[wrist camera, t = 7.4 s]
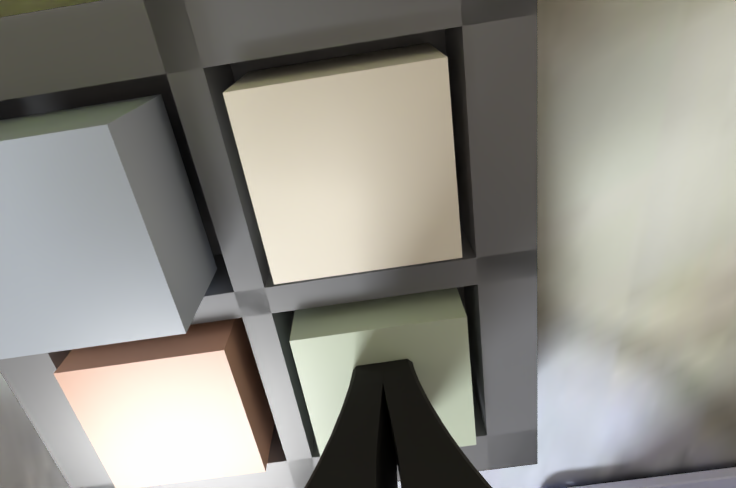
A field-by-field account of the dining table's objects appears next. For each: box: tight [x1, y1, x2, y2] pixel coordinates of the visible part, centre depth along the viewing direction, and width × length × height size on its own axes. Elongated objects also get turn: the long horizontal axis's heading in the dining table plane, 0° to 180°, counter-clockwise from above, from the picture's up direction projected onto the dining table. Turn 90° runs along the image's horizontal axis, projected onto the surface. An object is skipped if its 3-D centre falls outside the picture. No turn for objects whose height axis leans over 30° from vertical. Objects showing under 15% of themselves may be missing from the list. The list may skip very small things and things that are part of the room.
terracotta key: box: [54, 318, 275, 488], centre depth 14 cm, size 4×4×2 cm
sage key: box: [289, 287, 476, 457], centre depth 13 cm, size 4×4×2 cm
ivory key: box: [223, 43, 462, 284], centre depth 11 cm, size 4×4×2 cm
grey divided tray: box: [0, 0, 537, 488], centre depth 13 cm, size 13×13×2 cm
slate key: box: [0, 94, 217, 359], centre depth 10 cm, size 4×4×2 cm
